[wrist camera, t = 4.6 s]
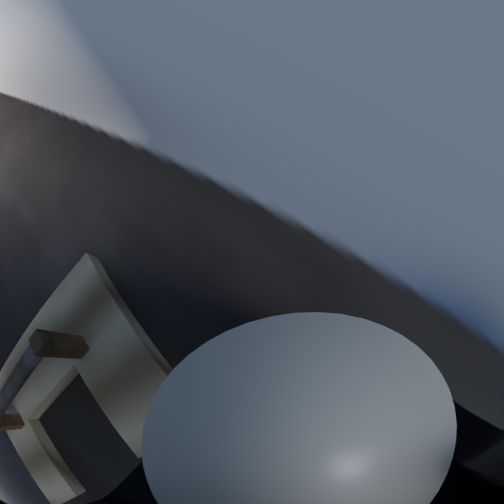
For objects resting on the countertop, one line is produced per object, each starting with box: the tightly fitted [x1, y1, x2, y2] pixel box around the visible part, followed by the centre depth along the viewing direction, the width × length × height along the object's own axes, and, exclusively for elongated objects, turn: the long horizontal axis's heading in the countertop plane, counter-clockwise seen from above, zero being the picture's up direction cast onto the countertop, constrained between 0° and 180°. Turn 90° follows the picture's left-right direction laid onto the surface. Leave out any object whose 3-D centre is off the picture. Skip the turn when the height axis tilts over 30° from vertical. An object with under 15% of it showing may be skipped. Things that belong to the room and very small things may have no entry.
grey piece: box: [0, 252, 173, 504], centre depth 13 cm, size 14×22×6 cm, turn 133°
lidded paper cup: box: [141, 312, 457, 504], centre depth 9 cm, size 6×6×12 cm
